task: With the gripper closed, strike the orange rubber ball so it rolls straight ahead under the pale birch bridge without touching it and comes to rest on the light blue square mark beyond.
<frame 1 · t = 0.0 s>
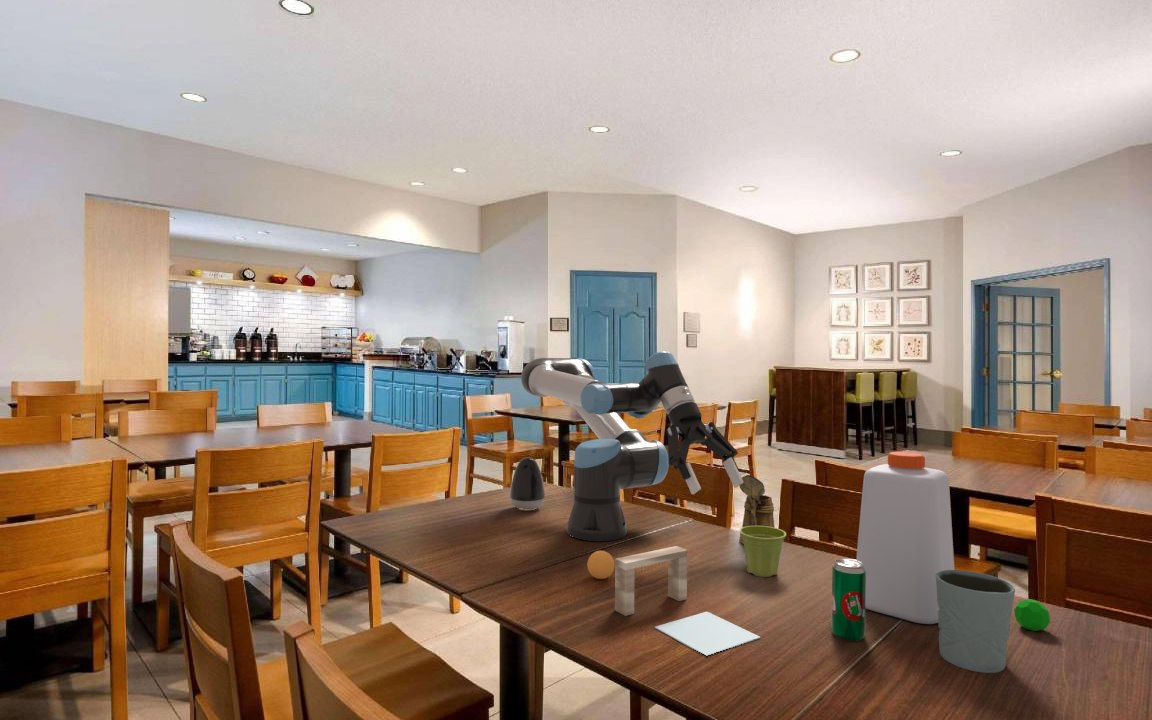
hand: (718, 488, 146), 15 cm above the table, tool tilted 35°, fingers open, 13 cm apart
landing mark: (706, 632, 105), on the table
ball: (600, 564, 130), on the table
plant pot: (762, 573, 135), on the table
plastic bottle: (903, 607, 117), on the table
bridge: (651, 604, 117), on the table
black rounded dome: (527, 509, 187), on the table
polyhedron: (1031, 630, 108), on the table
wooden mug: (755, 545, 154), on the table
soda can: (847, 636, 105), on the table
grey cup: (973, 660, 97), on the table
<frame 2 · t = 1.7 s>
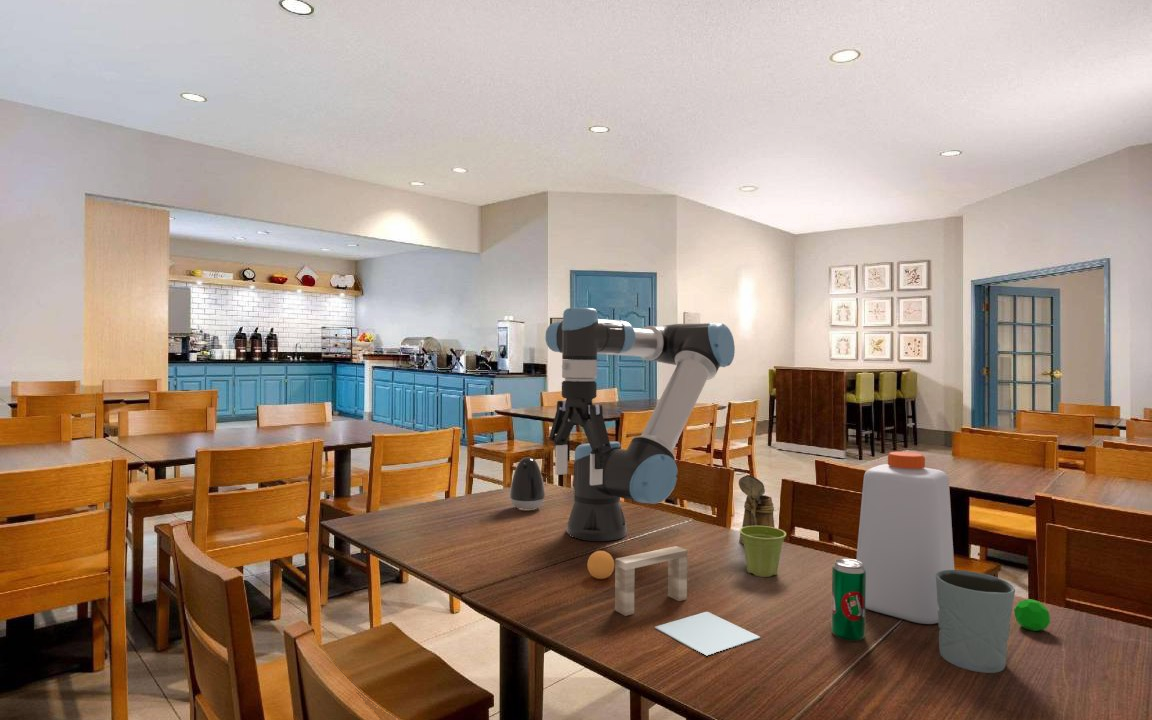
hand: (578, 479, 138), 19 cm above the table, tool pointing down, fingers open, 12 cm apart
nothing on the table moved.
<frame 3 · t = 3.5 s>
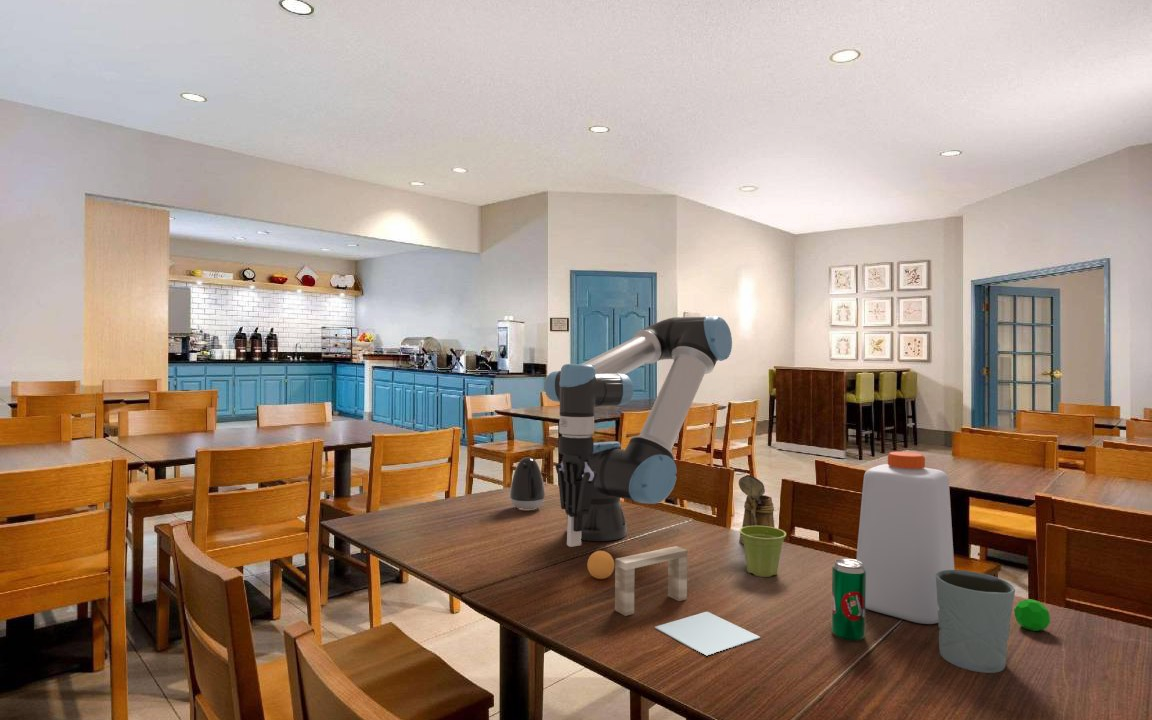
hand: (574, 544, 138), 4 cm above the table, tool pointing down, fingers closed
nothing on the table moved.
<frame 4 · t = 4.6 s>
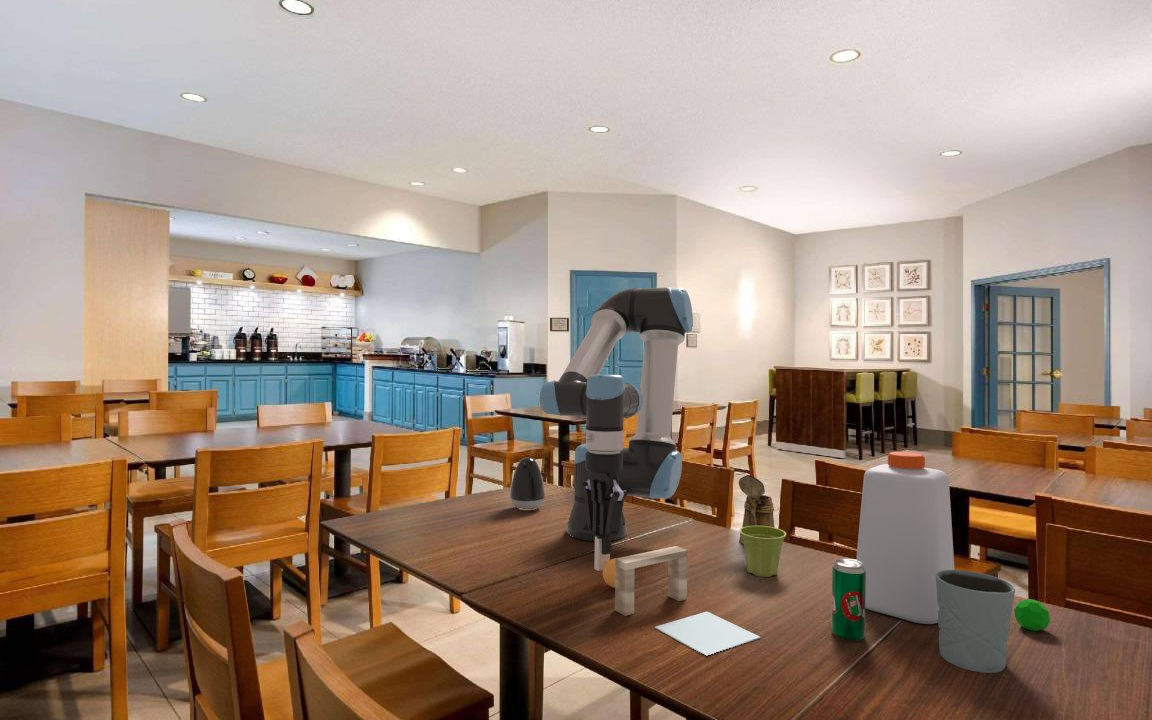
hand: (602, 568, 128), 3 cm above the table, tool pointing down, fingers closed
ball: (616, 573, 125), on the table
everything else where it was.
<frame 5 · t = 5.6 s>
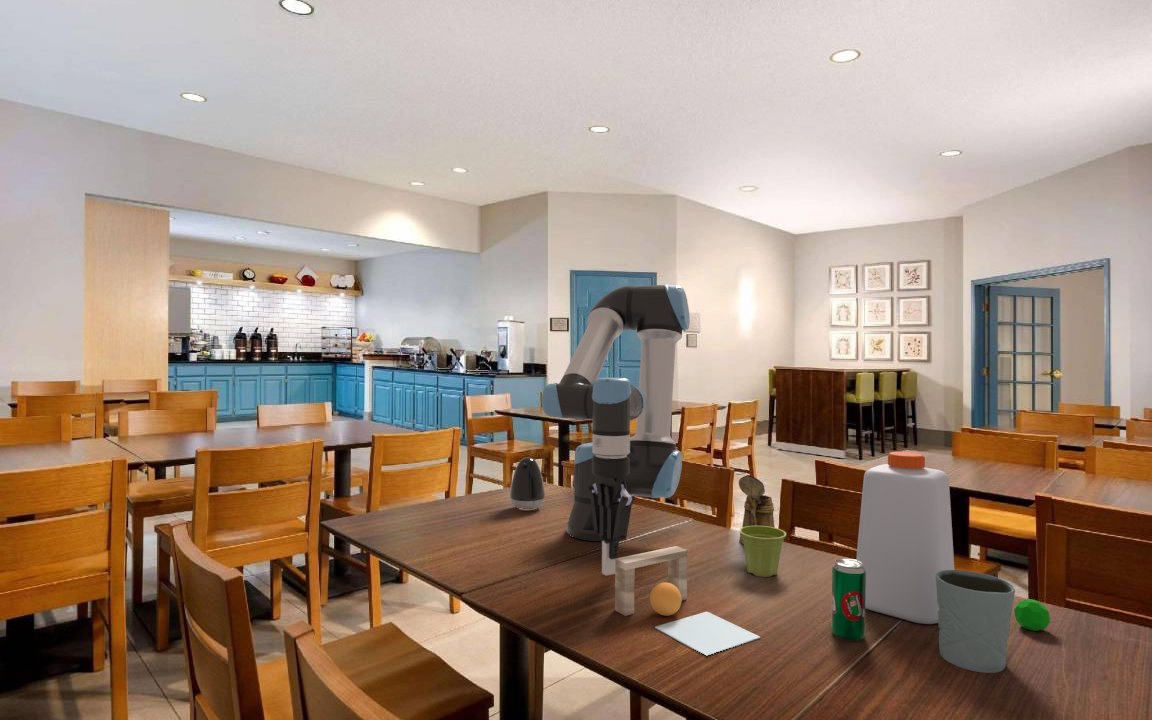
hand: (609, 573, 128), 2 cm above the table, tool pointing down, fingers closed
ball: (665, 598, 113), on the table
everything else where it was.
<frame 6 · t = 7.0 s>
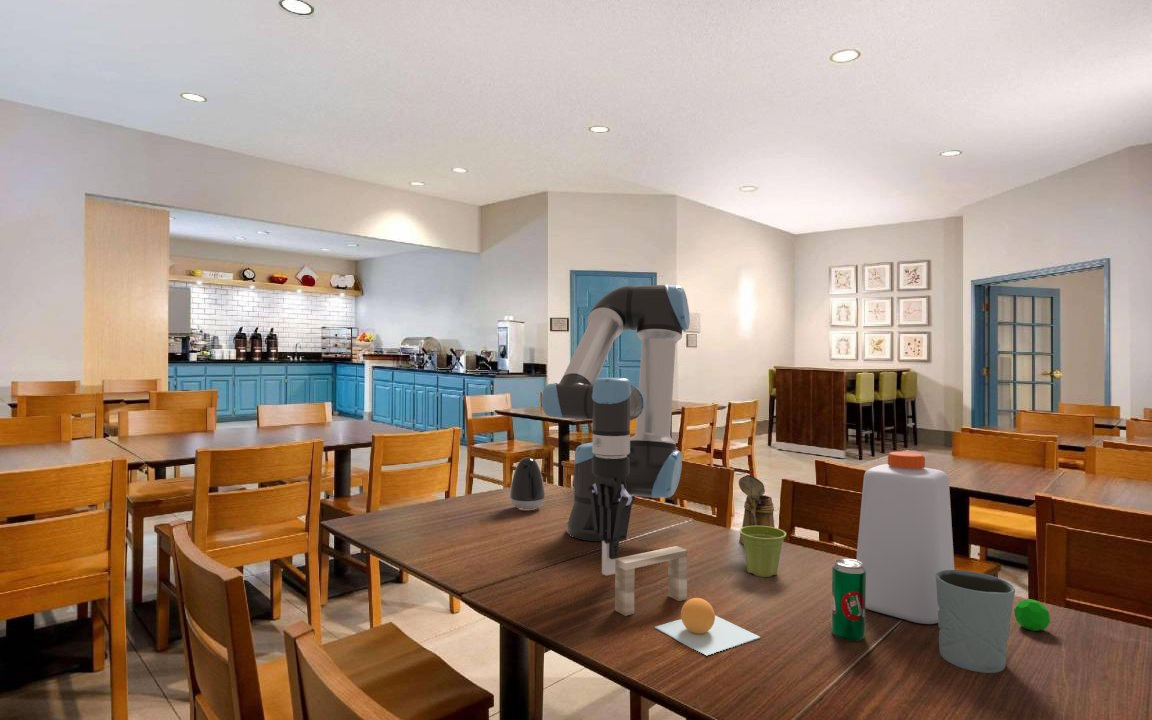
hand: (609, 573, 128), 2 cm above the table, tool pointing down, fingers closed
ball: (697, 615, 105), on the table
everything else where it was.
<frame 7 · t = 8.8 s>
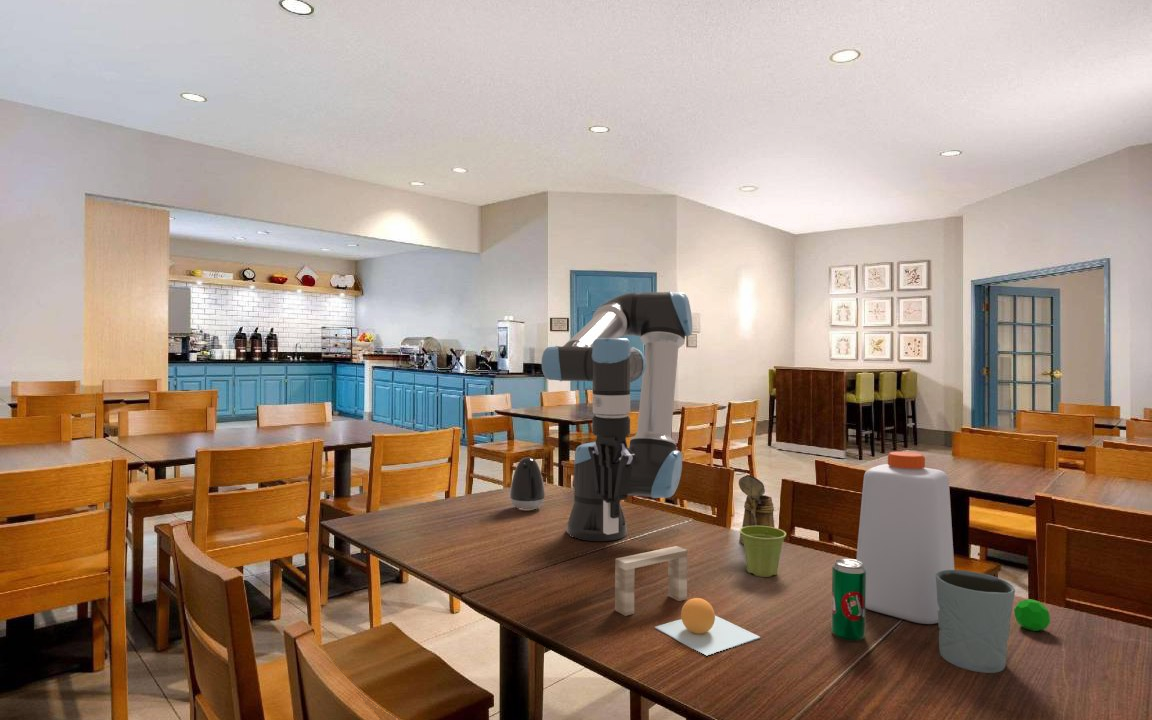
hand: (610, 532, 128), 10 cm above the table, tool pointing down, fingers closed
nothing on the table moved.
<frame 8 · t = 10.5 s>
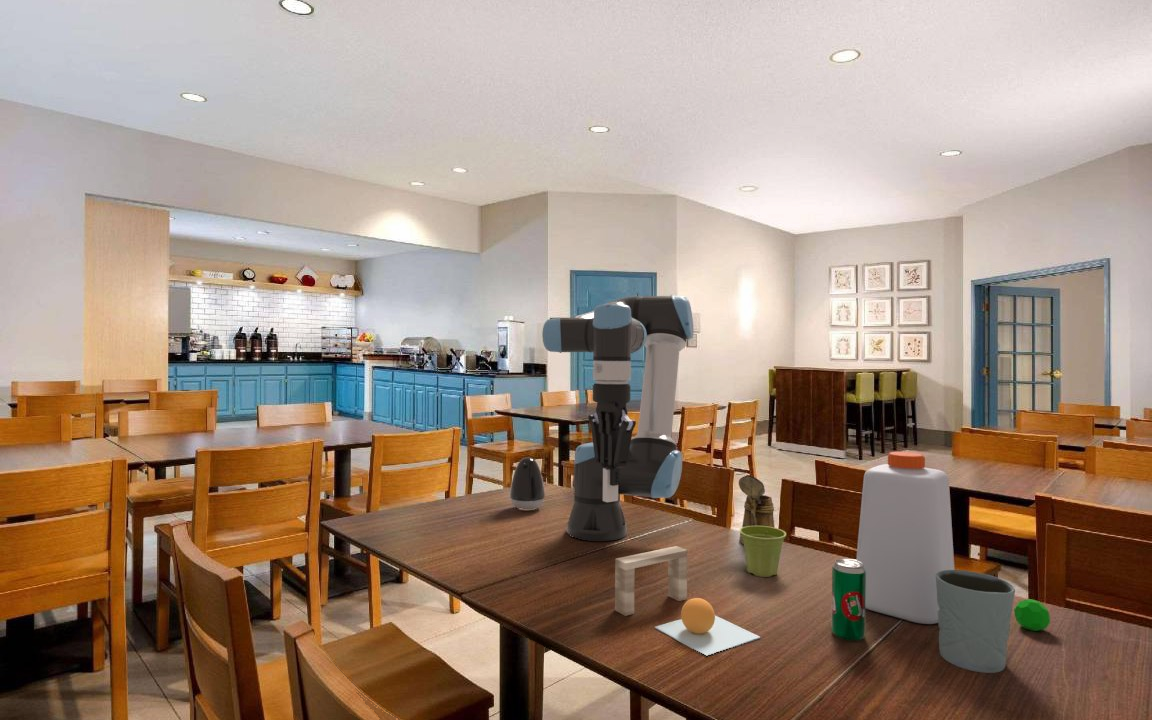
hand: (610, 500, 128), 16 cm above the table, tool pointing down, fingers closed
nothing on the table moved.
at the end: ball 1.5 cm from the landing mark (horizontally); ball never touched bridge; ball at rest at the end (0.0 cm/s) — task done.
